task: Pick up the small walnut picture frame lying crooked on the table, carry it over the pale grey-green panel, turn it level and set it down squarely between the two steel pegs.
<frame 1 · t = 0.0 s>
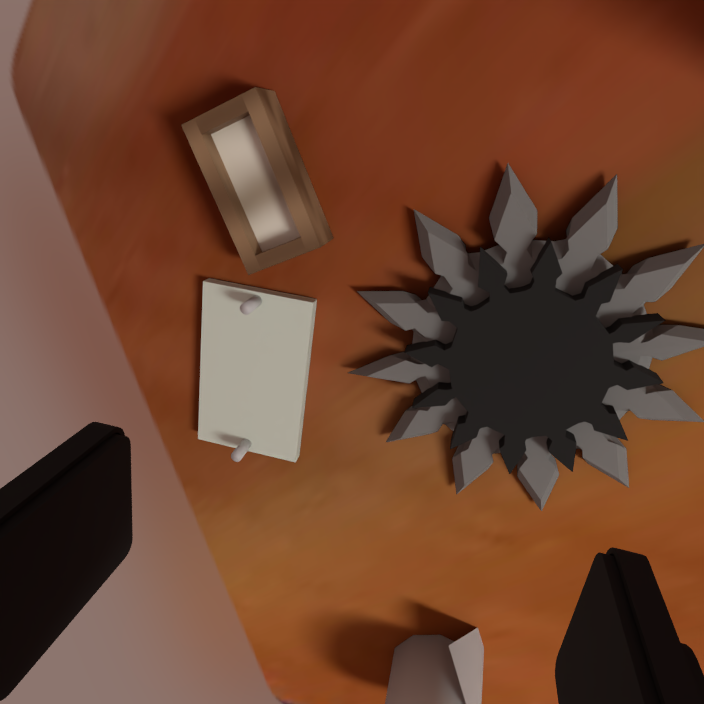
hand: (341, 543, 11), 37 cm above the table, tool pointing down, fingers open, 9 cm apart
decorative piece: (525, 349, 47), on the table
toilet tissue: (442, 658, 60), on the table
panel: (256, 370, 53), on the table
frame: (270, 182, 46), on the table
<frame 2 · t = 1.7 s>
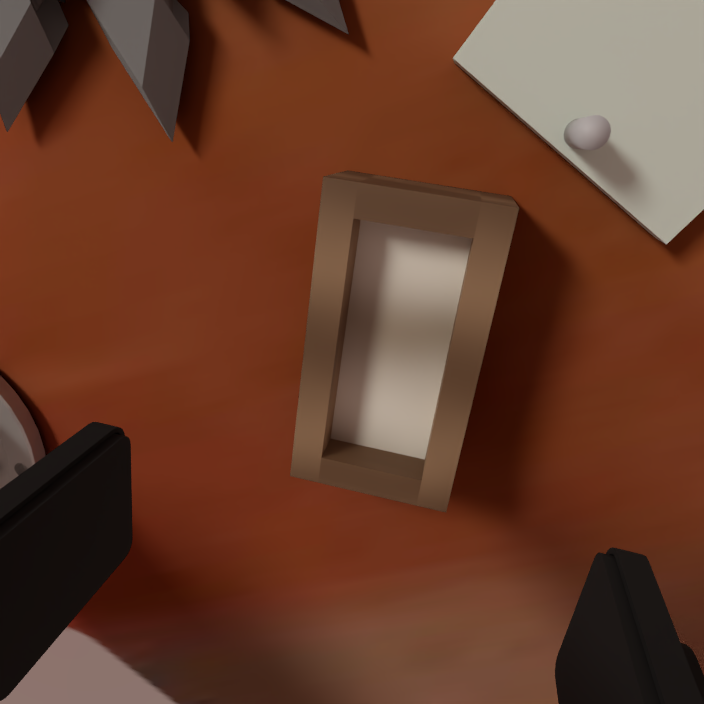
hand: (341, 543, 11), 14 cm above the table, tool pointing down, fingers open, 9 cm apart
frame: (402, 326, 24), on the table
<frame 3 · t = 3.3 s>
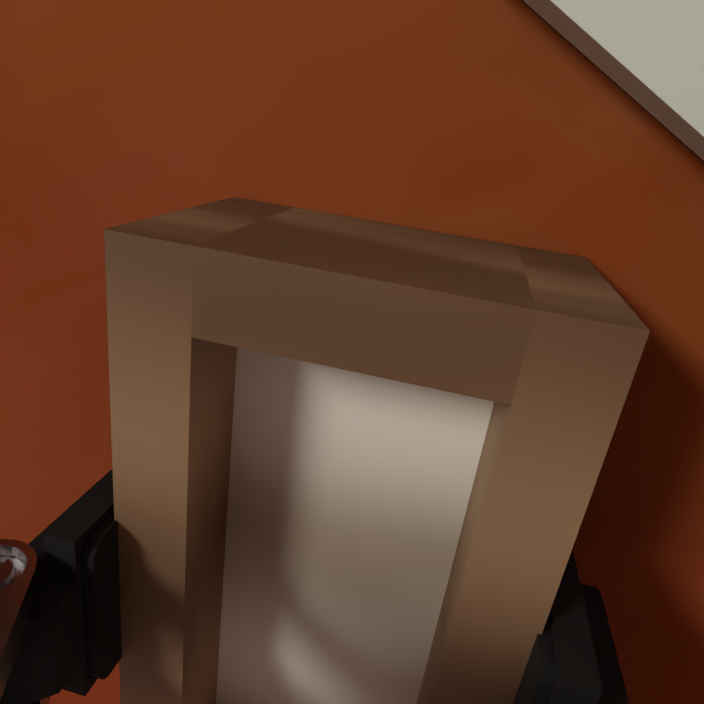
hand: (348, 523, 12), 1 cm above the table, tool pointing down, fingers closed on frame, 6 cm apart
frame: (357, 497, 13), on the table, touching gripper
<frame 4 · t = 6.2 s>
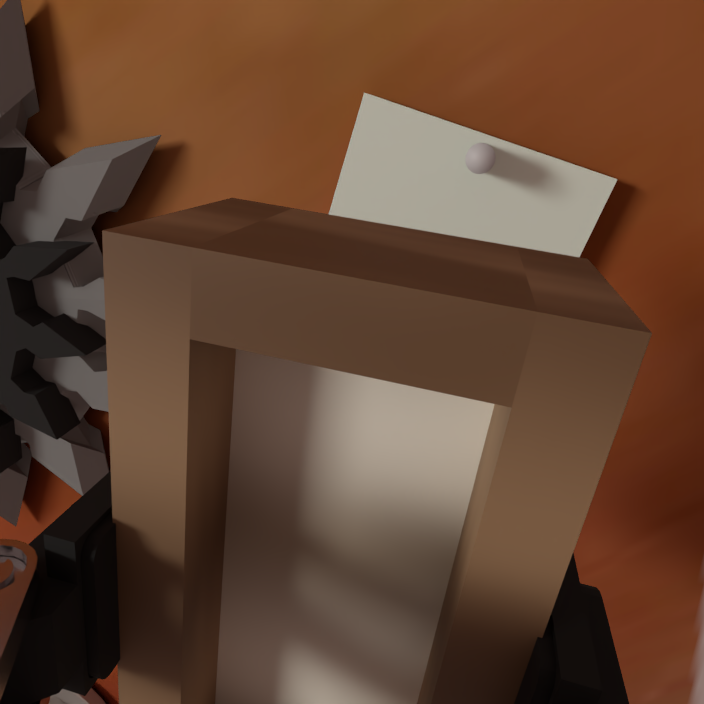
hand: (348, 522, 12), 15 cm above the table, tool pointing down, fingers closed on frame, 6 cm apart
panel: (418, 316, 25), on the table
frame: (356, 499, 12), point 14 cm above the table, touching gripper
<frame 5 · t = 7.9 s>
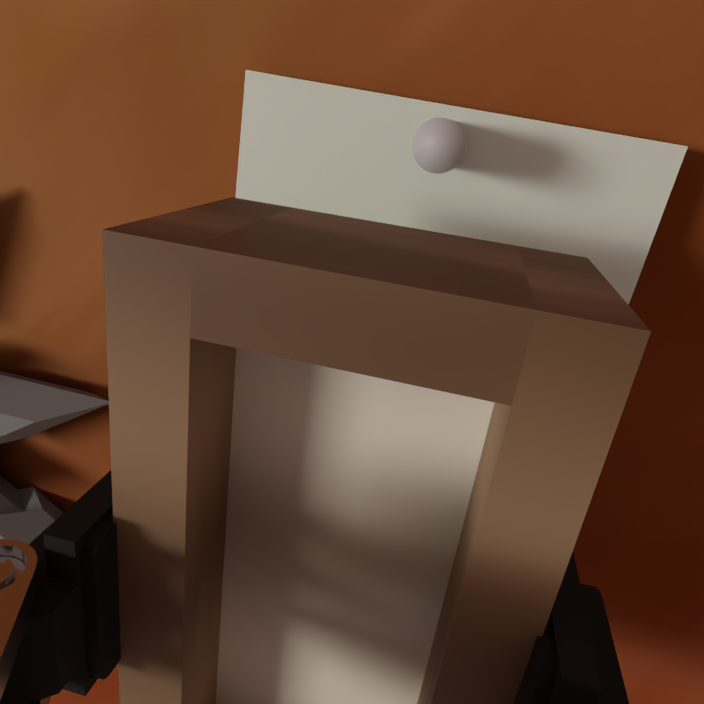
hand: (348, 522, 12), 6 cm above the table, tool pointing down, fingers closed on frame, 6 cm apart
panel: (394, 396, 17), on the table
frame: (356, 498, 12), point 5 cm above the table, touching gripper
when the fingers open (3 cm above the table, at t = 9.5 s): frame drops 1 cm, resting on panel.
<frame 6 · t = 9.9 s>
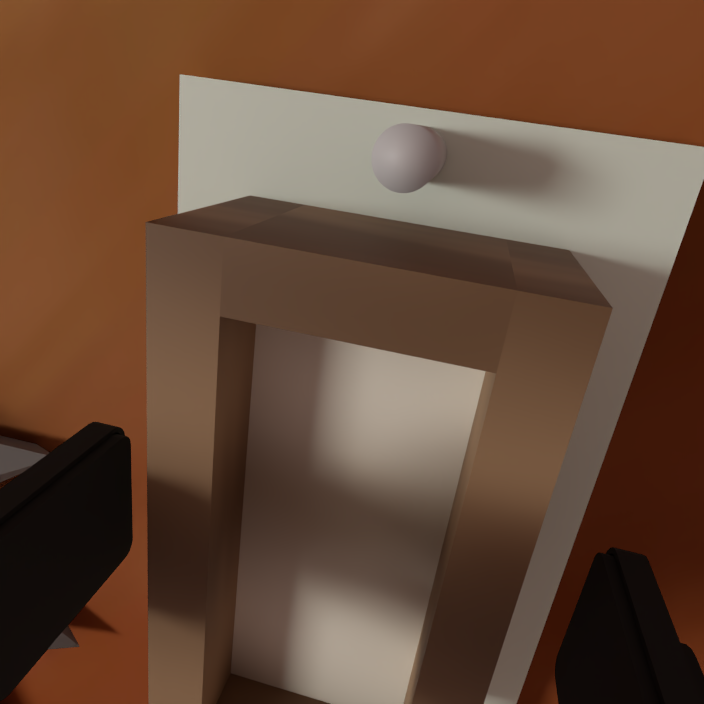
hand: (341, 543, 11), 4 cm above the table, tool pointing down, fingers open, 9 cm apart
panel: (375, 444, 15), on the table
frame: (361, 471, 14), point 1 cm above the table, touching panel
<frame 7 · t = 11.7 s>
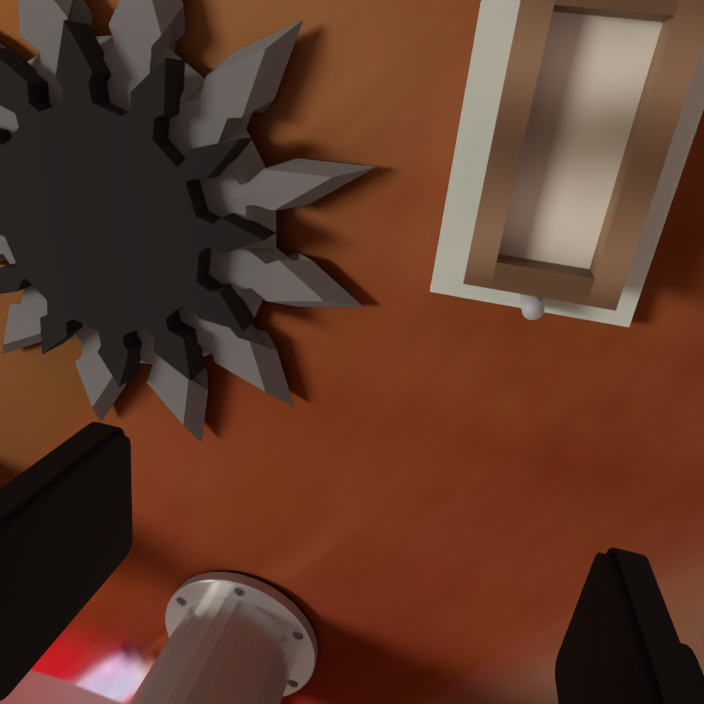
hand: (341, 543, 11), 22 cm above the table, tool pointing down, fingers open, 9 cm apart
decorative piece: (138, 214, 34), on the table
panel: (566, 142, 27), on the table
frame: (565, 145, 26), point 1 cm above the table, touching panel
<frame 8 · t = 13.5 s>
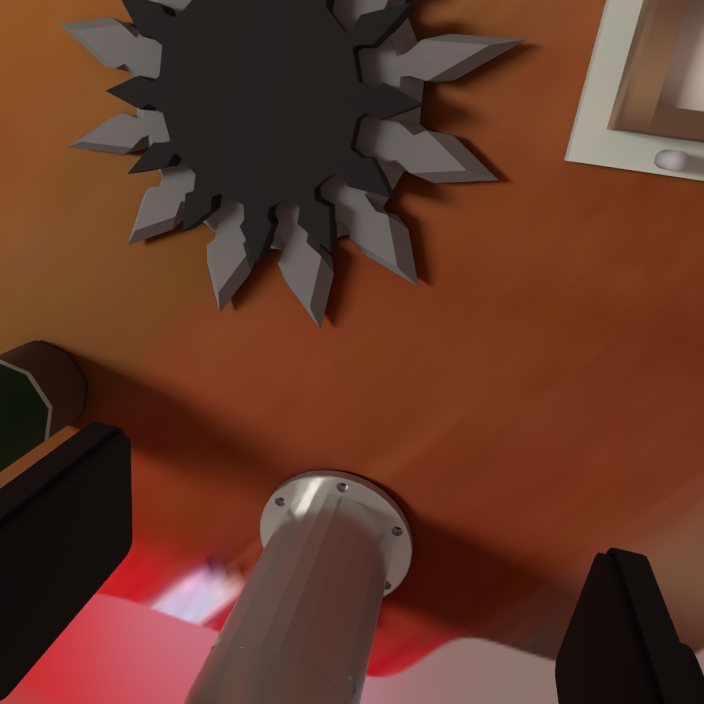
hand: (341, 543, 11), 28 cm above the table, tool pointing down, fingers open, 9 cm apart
decorative piece: (279, 100, 36), on the table
beer bottle: (51, 380, 48), on the table
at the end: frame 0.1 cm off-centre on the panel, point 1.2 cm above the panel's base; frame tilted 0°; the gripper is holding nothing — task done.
